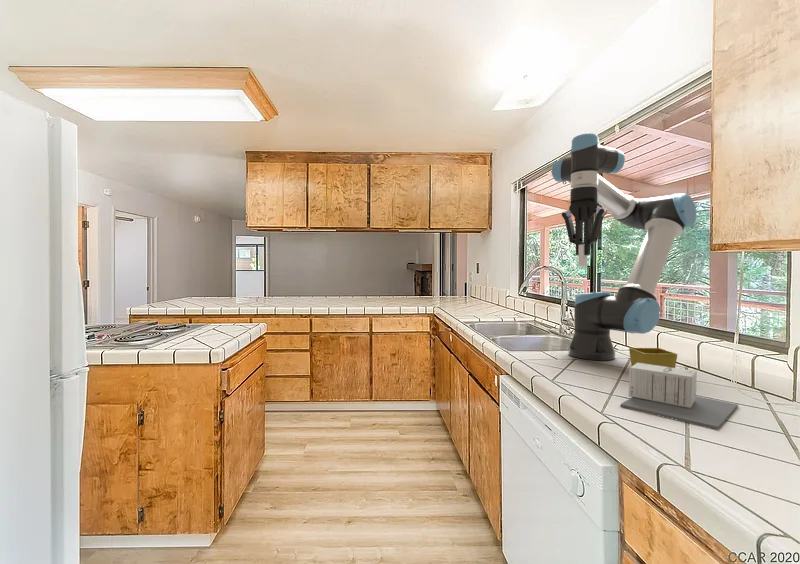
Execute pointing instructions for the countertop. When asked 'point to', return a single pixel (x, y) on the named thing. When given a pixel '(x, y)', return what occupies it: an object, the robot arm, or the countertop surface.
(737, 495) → the countertop surface
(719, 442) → the countertop surface
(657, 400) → the supplement box
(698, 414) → the mat
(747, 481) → the countertop surface
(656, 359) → the flower pot
